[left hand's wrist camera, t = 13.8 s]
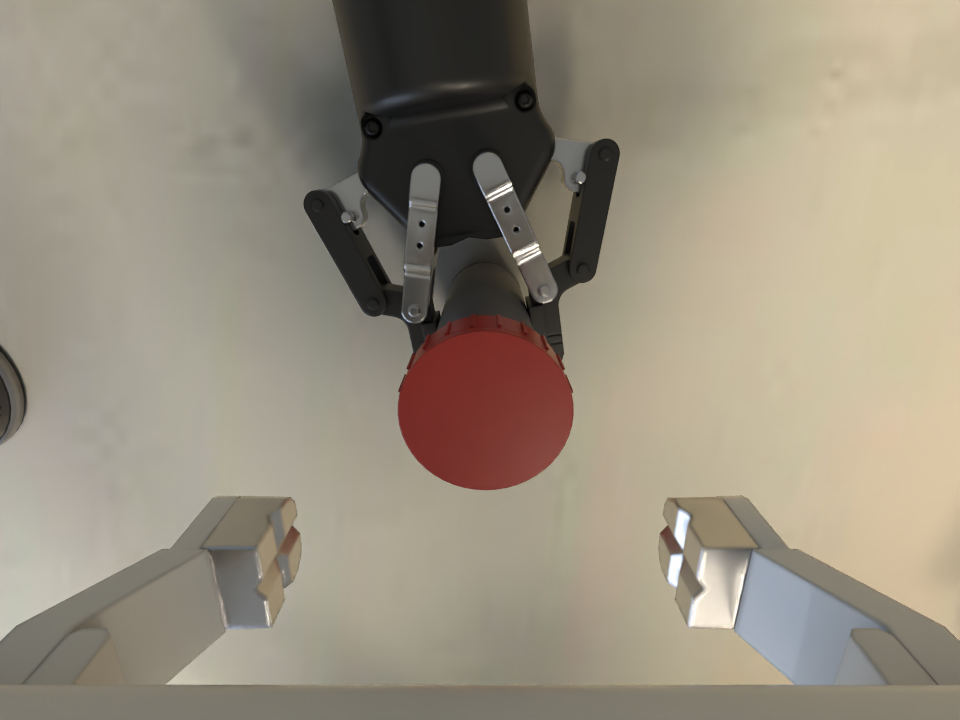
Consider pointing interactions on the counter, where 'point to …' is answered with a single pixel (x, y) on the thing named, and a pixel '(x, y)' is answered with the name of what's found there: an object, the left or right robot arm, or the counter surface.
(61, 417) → the counter surface
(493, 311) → the jar
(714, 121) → the counter surface
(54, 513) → the counter surface
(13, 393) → the right robot arm
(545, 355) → the lid
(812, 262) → the counter surface
